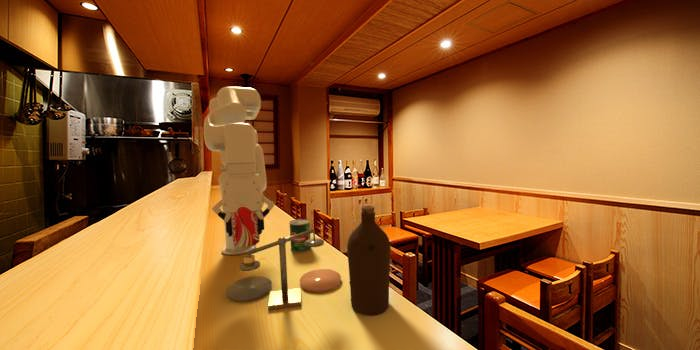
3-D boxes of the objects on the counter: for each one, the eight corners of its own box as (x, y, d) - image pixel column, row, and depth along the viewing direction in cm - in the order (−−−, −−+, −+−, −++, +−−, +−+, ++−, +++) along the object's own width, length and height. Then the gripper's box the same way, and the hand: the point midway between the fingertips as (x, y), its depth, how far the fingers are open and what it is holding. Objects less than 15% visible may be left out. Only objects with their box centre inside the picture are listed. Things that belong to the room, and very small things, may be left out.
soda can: (251, 250, 74) (248, 205, 73) (227, 249, 75) (224, 205, 74) (264, 241, 81) (262, 200, 80) (242, 240, 82) (239, 199, 81)
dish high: (299, 275, 88) (299, 271, 88) (337, 270, 90) (337, 267, 90) (300, 294, 76) (300, 290, 76) (344, 289, 79) (343, 285, 79)
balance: (244, 299, 75) (239, 230, 73) (324, 289, 79) (322, 224, 77) (239, 314, 68) (234, 239, 66) (327, 302, 72) (324, 231, 70)
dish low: (231, 282, 84) (231, 279, 84) (273, 278, 87) (273, 274, 86) (221, 304, 73) (221, 300, 72) (270, 298, 75) (269, 294, 75)
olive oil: (400, 307, 69) (399, 207, 67) (365, 323, 63) (363, 214, 61) (373, 289, 78) (371, 201, 75) (340, 302, 72) (337, 206, 70)
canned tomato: (307, 244, 116) (306, 218, 115) (314, 250, 109) (312, 222, 108) (288, 247, 112) (287, 220, 111) (294, 254, 105) (292, 225, 104)
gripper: (202, 172, 71) (208, 241, 72) (273, 169, 74) (277, 235, 76) (211, 170, 78) (216, 232, 80) (275, 167, 81) (279, 227, 83)
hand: (246, 233), depth 78 cm, fingers closed on soda can, 7 cm apart
